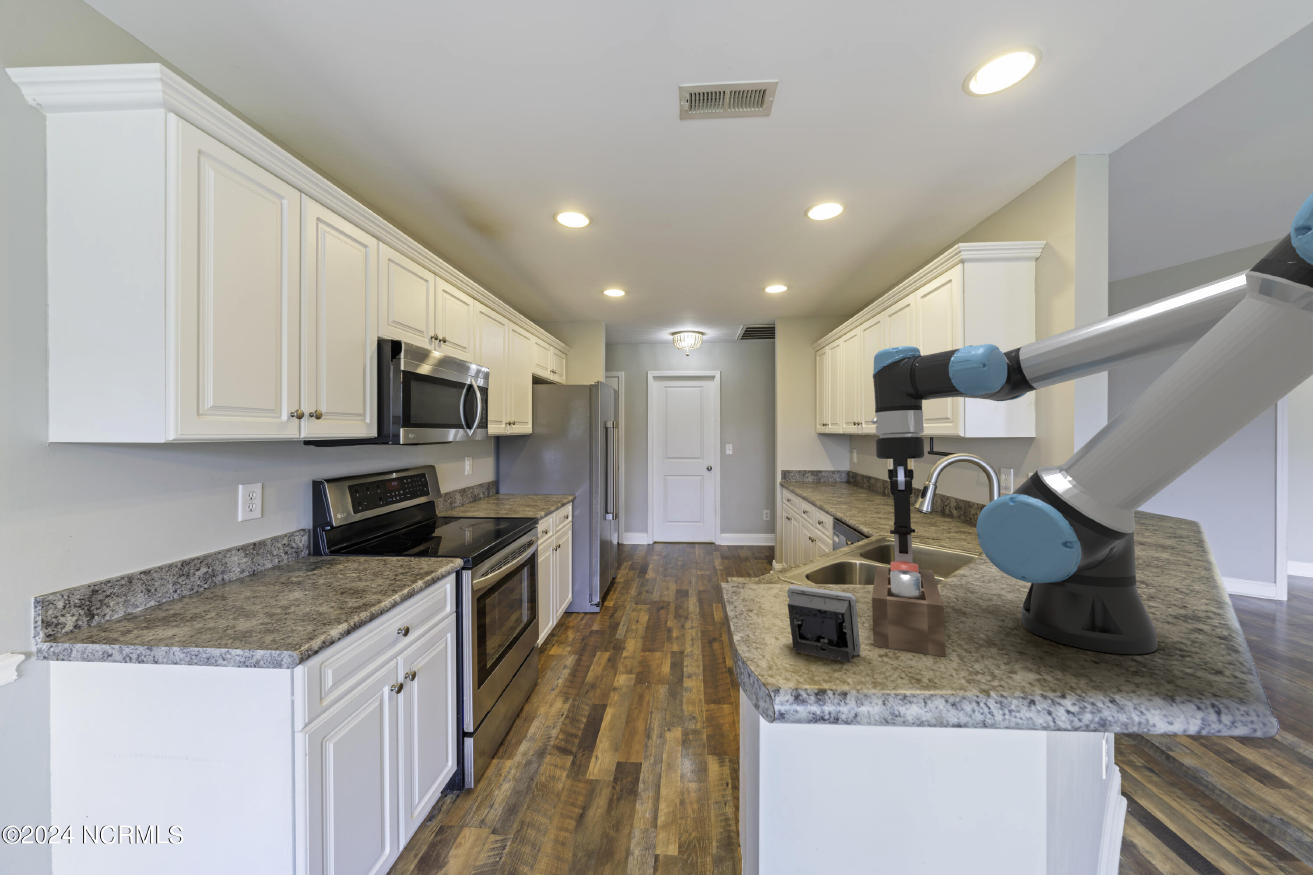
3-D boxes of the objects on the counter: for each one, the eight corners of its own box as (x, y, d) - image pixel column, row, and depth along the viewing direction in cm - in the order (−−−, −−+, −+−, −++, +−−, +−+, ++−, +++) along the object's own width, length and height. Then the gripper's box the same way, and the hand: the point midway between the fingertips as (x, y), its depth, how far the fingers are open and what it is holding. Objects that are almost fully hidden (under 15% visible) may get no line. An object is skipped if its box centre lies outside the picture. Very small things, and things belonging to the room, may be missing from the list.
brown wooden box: (934, 609, 83) (932, 570, 83) (945, 656, 64) (943, 605, 64) (877, 603, 87) (876, 565, 87) (873, 645, 68) (871, 597, 68)
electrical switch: (861, 654, 66) (858, 589, 65) (855, 672, 61) (851, 603, 61) (795, 641, 71) (791, 580, 70) (784, 657, 66) (780, 593, 66)
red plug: (919, 599, 77) (917, 562, 77) (920, 606, 73) (919, 567, 73) (891, 596, 78) (890, 560, 79) (891, 603, 75) (890, 565, 75)
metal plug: (921, 611, 71) (919, 571, 71) (922, 620, 67) (921, 578, 67) (891, 607, 73) (890, 569, 73) (891, 616, 69) (890, 575, 69)
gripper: (876, 437, 90) (881, 561, 89) (874, 436, 78) (879, 578, 78) (921, 436, 87) (926, 564, 86) (925, 434, 75) (931, 583, 74)
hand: (904, 571), depth 82 cm, fingers closed
